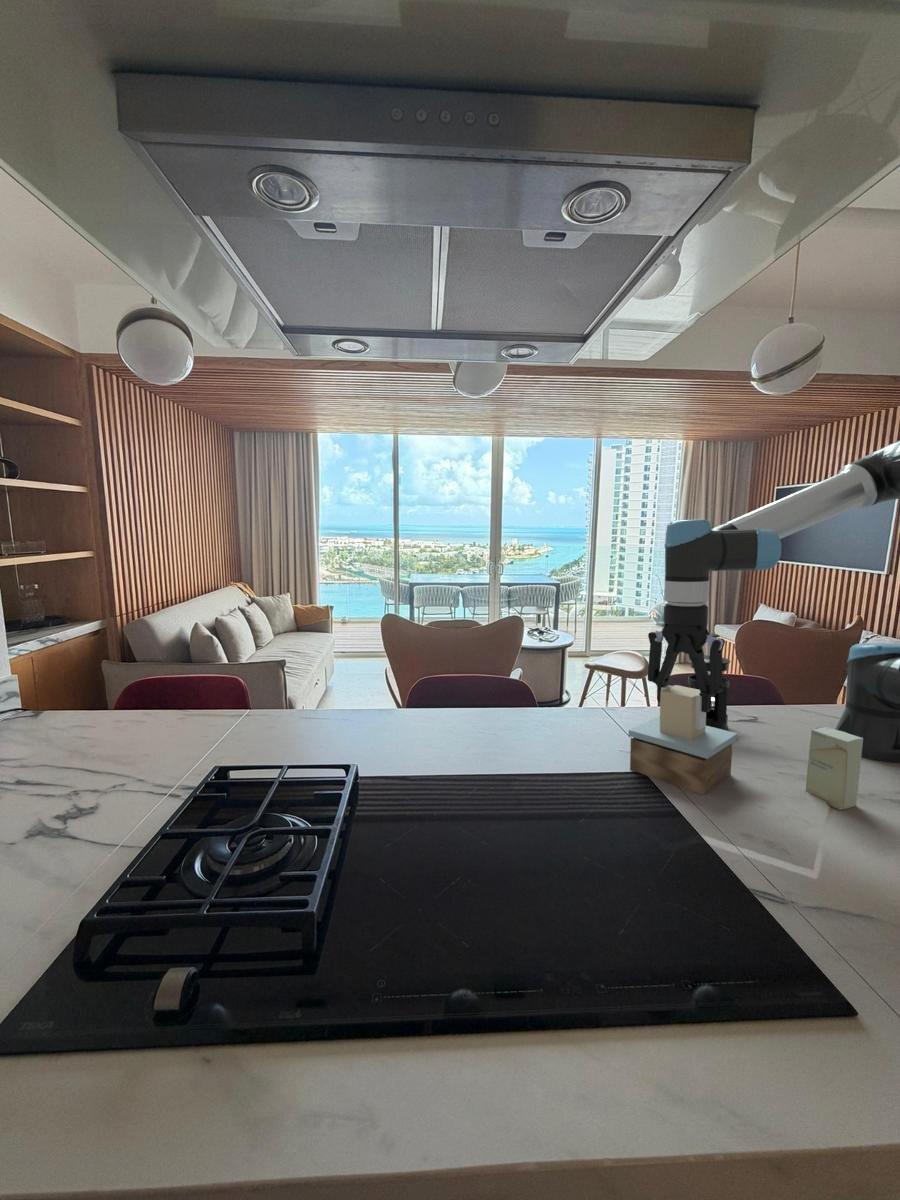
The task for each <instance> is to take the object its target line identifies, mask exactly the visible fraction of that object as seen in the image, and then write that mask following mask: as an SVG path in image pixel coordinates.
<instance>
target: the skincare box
mask: <svg viewBox="0 0 900 1200" xmlns="http://www.w3.org/2000/svg"><path fill="white" fill-rule="evenodd" d="M809 741H810V742H809V752H808V762H807V772H806V782H805V792H807V793H809V794H812V795H814V796H816V797H818V798H820V799H823V800H825V801H826V805H828V806H830V807H832V808H834V809H836V808H837V810H839V811H842V810H846V809H850V808H853V807H856V806H857V800H858V792H859V791H858V790H859V782H860V781H859V779H860V771H861V762H862V756H861V755H862V746H863V738H861V737H858V736H855V735H852V734H849V733H846V732H843V731H839V730H836V729H835V728H832V727H830V726H827V725H826V726H822V727H817V728H811V731H810V740H809Z"/></svg>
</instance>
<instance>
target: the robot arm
mask: <svg viewBox="0 0 900 1200" xmlns="http://www.w3.org/2000/svg"><path fill="white" fill-rule="evenodd" d="M899 499H900V439H899V440H896V441H895V442H891V443H890V444H887V445H886V446H883V447H882V448H880V449H877V450H875V451H874V452H871V453H869V454H867V455H865V456H863V457H861V458H859V459H857V460H855V461H853V462H851V463H849V464H846V465H844V466H842V467H841V468H840V469H839V471H838V472H837V474H836V475H833V476H831V477H828V478H826V479H823V480H822V481H819V482H817V483H815V484H812V485H810V486H808V487H806V488H802V489H800V490H798V491H796V492H794V493H791V494H790V495H786V496H785V497H783V498H780V499H778V500H775V501H773V502H771V503H768V504H766V505H764V506H761V507H759V508H757V509H754V510H752V511H750V512H748V513H746V514H743V515H740V516H739V517H736V518H734V519H732V520H731V519H730V520H729V521H728V522H725V523H723V524H719V525H718V526H716V527H713V528H712V526H711V525H712V524H711V521H710V520H709V519H679V520H671V521H669V523H668V524H667V526H666V530H665V531H666V532H665V540H664V551H665V553H664V568H665V569H664V573H665V574H664V591H663V592H664V595H663V600H664V601H665V602H666V603H665V605H663V623H664V625H663V628H662V629H661V630H659V631H658V630H655V631H650V632H649V633H648V635H647V637H648V640H649V644H650V645H649V656H648V665H647V666H648V668H647V681H648V682H649V683H651V682H652V683H653V684H655V685H656V700H657V702H658V703H660V694H661V691H662V690H664V689H667V688H670V687H672V686H673V685H670V678H671V674H672V672H673V669H674V666H675V664H676V661H677V659H678V655H679V654H680V653H684V654H686V655H688V659H689V658H690V659H691V660H690V662H691V661H692V664H693V668H692V669H693V670H694V671H693V672H694V675H696V678H697V682H698V685H699V689H700V692H701V693H699V694H697V695H696V719H695V729H697V730H700V729H702V728H704V727H706V713H707V712H709V711H710V710H711V700H712V697H713V696H712V695H715V694H717V693H719V692H721V691H723V677H724V675H723V672H724V671H723V668H722V657H723V649H724V646H725V645H726V641H725V639H724V638H718V637H712V636H710V635H709V633H710V632H709V629H708V623H709V622H708V621H709V606H708V605H707V604H705V603H707V602H708V601H709V591H710V589H709V584H710V583H709V581H710V571H711V572H717V571H718V572H719V571H723V572H725V571H726V572H727V571H731V572H733V571H734V572H735V571H752V572H753V571H754V572H756V571H764V570H771V569H773V568H774V567H775V566H777V564H778V563H779V562H780V559H781V556H782V542H781V541H782V540H781V539H784V538H786V537H788V536H791V535H793V534H795V533H798V532H800V531H803V530H804V529H807V528H810V527H812V526H814V525H817V524H819V523H821V522H823V521H824V522H825V521H826V520H829V519H831V518H833V517H835V516H838V515H840V514H842V513H845V512H847V511H849V510H852V509H854V508H857V509H867V508H870V507H872V506H874V505H877V504H880V503H884V502H888V501H889V502H890V501H893V500H894V501H895V500H899ZM664 639H665V641H666V643H667V646H666V649H665V656H664V659H663V661H662V660H661V659H662V651H663V641H664ZM706 643H707V648H708V650H709V649H710V653H709V652H708V655H709V659H710V673H709V674H708V671H707V667H706V664H705V660H704V655H705V653H704V649H703V646H704V645H705V644H706ZM661 662H662V663H661ZM846 662H847V674H846V689H845V691H846V692H845V705H844V707H845V708H844V711H843V712H842V714H841V716H840V717H839V720H838V722H837V724H836V726H835V728H834V729H836V730H839V731H843V732H846V733H849V734H852V735H855V736H858V737H861V738H863V746H862V755H861V757H863V758H868V759H872V760H878V761H883V762H892V763H900V643H883V642H882V643H880V642H879V643H878V642H877V643H873V642H871V643H867V642H866V643H865V642H864V643H855V644H854V645H852V646H851V647H850V649H849V653H848V658H847V661H846ZM661 664H662V665H661ZM709 675H710V678H709Z"/></svg>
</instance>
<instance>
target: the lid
mask: <svg viewBox="0 0 900 1200" xmlns="http://www.w3.org/2000/svg"><path fill="white" fill-rule="evenodd" d="M671 686H672V687H670V688H667V689H664V690H662V691H661V694H660V702H659V703H660V704H659V716H657V717H654V718H652V719H650V720H647V721H645V722H643V723H640V724H638V725H637V726H634V727H632V728H630V729H629V730H628V737H631V738H637V739H641V740H644V741H648V742H651V743H654V744H658V745H661V746H665V747H668V748H672V749H675V750H678V751H682V752H685V753H689V754H692V755H696V756H699V757H702V758H706V759H708V758H710V757H711V756H713V755H714V754H716V753H717V752H719V751H720V750H722V749H724V748H725V747H727V746H728V745H730V744H731V743H732V744H733V743H735V742H736V741H738V739H739V733H738V732H734V731H729V730H728V731H726V730H722V729H718V728H714V727H710V726H706V727H704V728H702V729H700V730H697V729H695V719H696V695H697V694H699V693H701V692H700V690H699V689H695V687H693V688H689V686H688V687H687V686H683V685H679V684H675V685H671Z"/></svg>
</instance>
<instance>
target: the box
mask: <svg viewBox="0 0 900 1200" xmlns="http://www.w3.org/2000/svg"><path fill="white" fill-rule="evenodd" d="M629 753H630V761H629V770H631V771H633V772H636V773H639V774H640V775H641V774H642V775H645V776H647V777H650V778H653V779H657V780H659V781H661V782H664V783H667V784H671V785H673V786H676V787H678V788H682V789H684V790H688V791H691V792H693V793H696V794H698V795H703V796H704V795H705V794H706V793H708V792H709V791H710V790H712V789H713V788H715V787H716V786H717V785H719V784H720V783H722V781H724V780H725V779H728V778H729V777H730V776H731V773H732V756H733V755H732V753H733V743H731V744H730V745H728V746H727V747H725V748H724V749H722V750H720V751H719V752H717V753H716V754H714V755H713V756H711V757H710V758H708V759H706V758H699V757H696V756H692V755H689V754H686V753H685V752H682V751H676V750H672V749H669V748H665V747H662V746H659V745H655V744H654V743H651V742H648V741H644V740H641V739H637V738H634V737H631V738H630V751H629Z"/></svg>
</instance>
